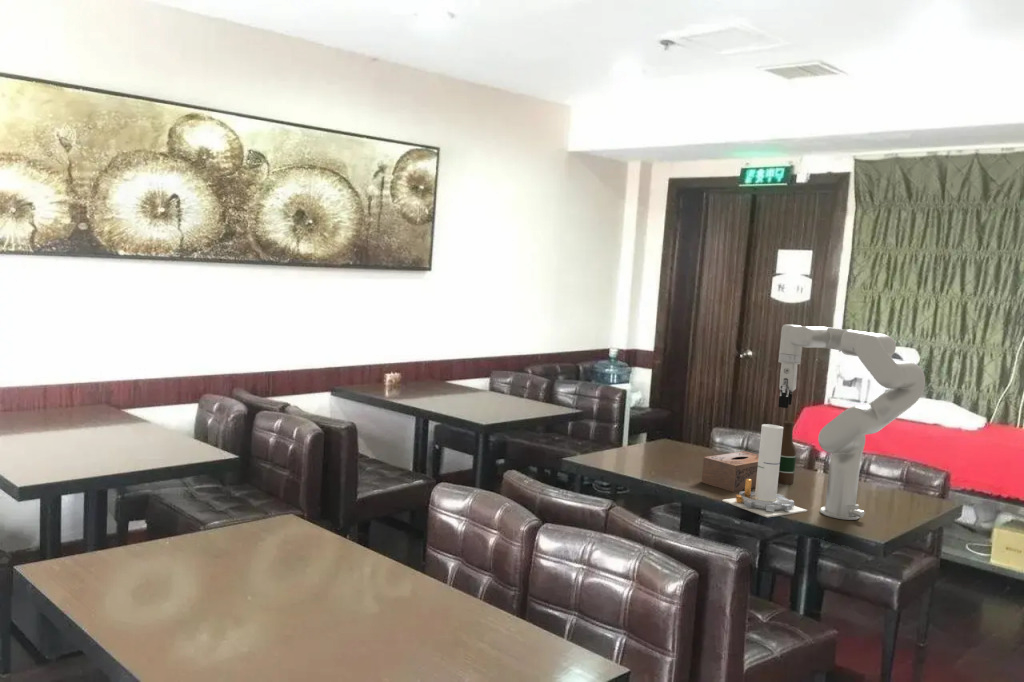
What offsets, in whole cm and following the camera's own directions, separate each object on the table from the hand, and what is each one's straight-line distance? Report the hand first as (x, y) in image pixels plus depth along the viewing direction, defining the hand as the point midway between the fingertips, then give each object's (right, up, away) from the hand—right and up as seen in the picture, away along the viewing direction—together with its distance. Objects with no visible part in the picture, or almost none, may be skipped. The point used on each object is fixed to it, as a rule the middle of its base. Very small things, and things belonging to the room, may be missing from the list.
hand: (784, 405), depth 297 cm
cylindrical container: (-11, -31, -13) cm, 35 cm away
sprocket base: (-11, -34, -12) cm, 38 cm away
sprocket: (-11, -34, -12) cm, 38 cm away
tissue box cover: (-12, -32, +19) cm, 39 cm away
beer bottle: (+8, -32, +25) cm, 41 cm away
